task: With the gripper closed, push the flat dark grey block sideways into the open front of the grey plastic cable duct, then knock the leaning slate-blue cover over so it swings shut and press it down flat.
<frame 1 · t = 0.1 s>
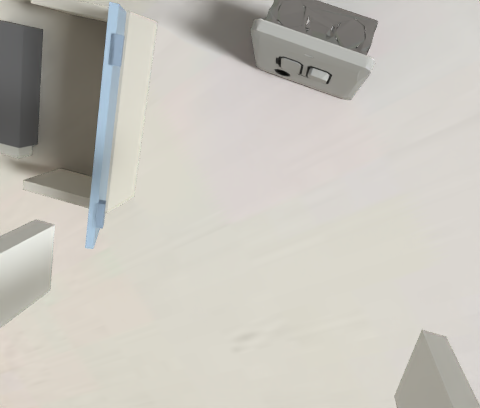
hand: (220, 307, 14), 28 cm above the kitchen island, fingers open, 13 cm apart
dark grey block: (23, 85, 44), on the kitchen island
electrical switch: (311, 55, 38), on the kitchen island
cover: (107, 127, 33), point 10 cm above the kitchen island, hinge at 112.0°
duct: (109, 106, 42), on the kitchen island
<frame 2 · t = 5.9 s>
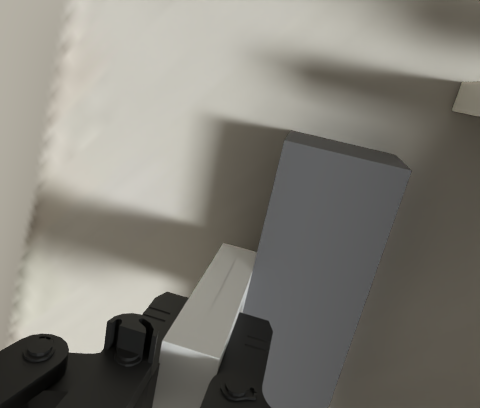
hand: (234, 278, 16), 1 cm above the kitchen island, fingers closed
dark grey block: (302, 279, 17), on the kitchen island
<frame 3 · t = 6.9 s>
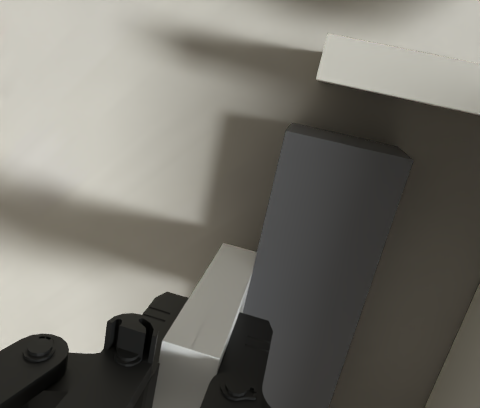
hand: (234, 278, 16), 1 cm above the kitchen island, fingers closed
dark grey block: (304, 272, 17), on the kitchen island, touching gripper
duct: (386, 303, 17), on the kitchen island
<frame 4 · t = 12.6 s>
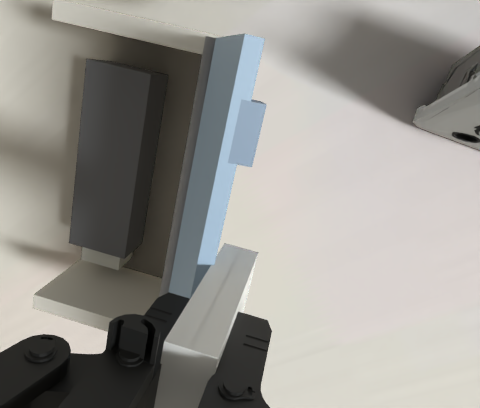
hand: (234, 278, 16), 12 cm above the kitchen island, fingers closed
dark grey block: (127, 157, 28), on the kitchen island
cover: (192, 247, 18), point 10 cm above the kitchen island, hinge at 110.7°, touching gripper
duct: (163, 172, 28), on the kitchen island
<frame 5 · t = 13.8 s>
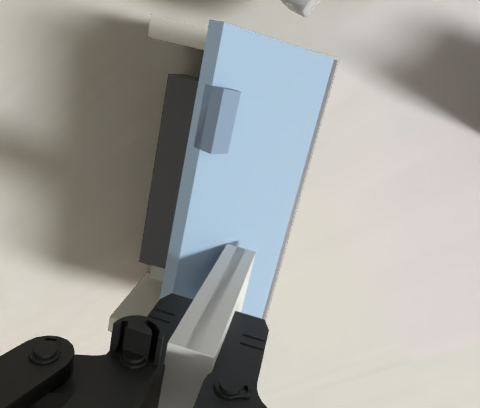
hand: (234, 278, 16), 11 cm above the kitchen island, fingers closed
dark grey block: (196, 172, 28), on the kitchen island
cover: (239, 258, 18), point 10 cm above the kitchen island, hinge at 58.3°, touching gripper
duct: (234, 188, 27), on the kitchen island
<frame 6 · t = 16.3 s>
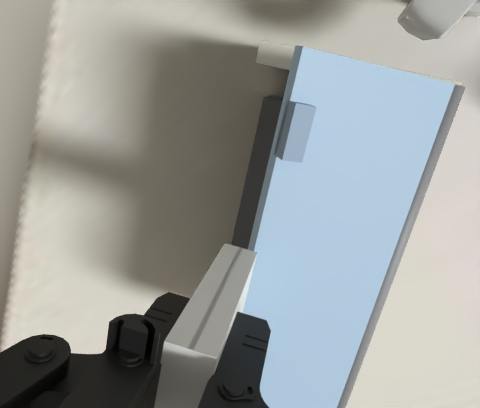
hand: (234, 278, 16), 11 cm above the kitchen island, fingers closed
dark grey block: (280, 194, 27), on the kitchen island
cover: (327, 274, 18), point 9 cm above the kitchen island, hinge at 31.0°, touching gripper
duct: (320, 210, 26), on the kitchen island
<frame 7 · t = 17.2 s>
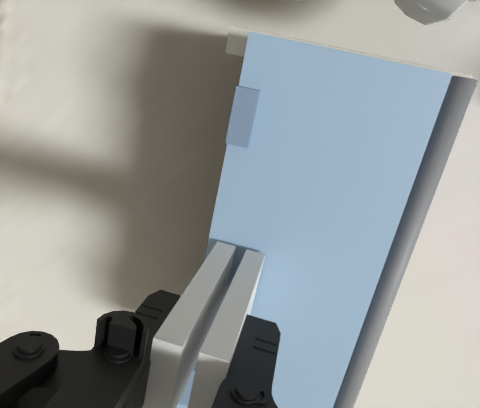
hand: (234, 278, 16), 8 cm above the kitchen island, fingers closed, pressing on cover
cover: (298, 282, 17), point 7 cm above the kitchen island, hinge at 3.0°, touching gripper
duct: (306, 223, 23), on the kitchen island
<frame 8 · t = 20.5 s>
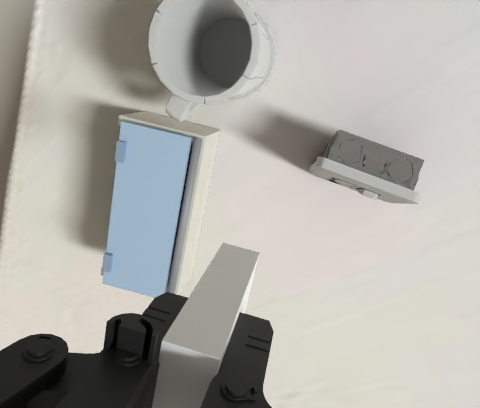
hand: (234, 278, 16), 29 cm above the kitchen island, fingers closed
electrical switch: (356, 162, 43), on the kitchen island
cover: (148, 216, 41), point 7 cm above the kitchen island, hinge at 2.6°
duct: (173, 197, 48), on the kitchen island
cup: (233, 63, 43), on the kitchen island
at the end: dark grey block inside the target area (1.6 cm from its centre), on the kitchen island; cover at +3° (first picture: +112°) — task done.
